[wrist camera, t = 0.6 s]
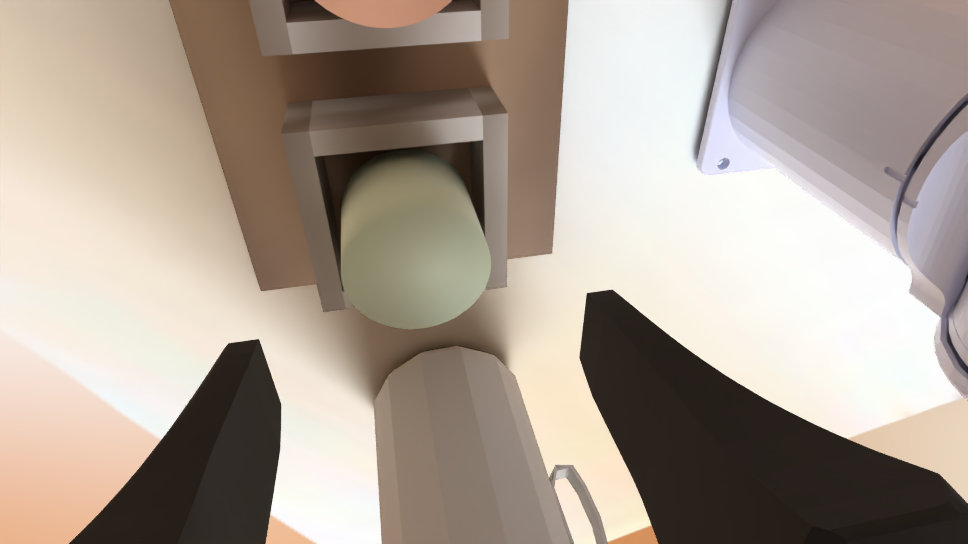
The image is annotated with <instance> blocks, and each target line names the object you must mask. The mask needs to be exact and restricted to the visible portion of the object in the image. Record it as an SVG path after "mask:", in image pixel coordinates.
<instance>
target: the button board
mask: <svg viewBox="0 0 968 544" xmlns="http://www.w3.org/2000/svg"><path fill="white" fill-rule="evenodd" d="M169 1H170V4H171V8H172V11H173V14H174V17H175V20H176V23H177V27H178V30H179V33H180V36H181V39H182V42H183V46H184V49H185V52H186V55H187V58H188V61H189V65H190V68H191V71H192V74H193V77H194V80H195V84H196V87H197V90H198V93H199V96H200V99H201V103H202V106H203V109H204V112H205V115H206V118H207V122H208V125H209V128H210V131H211V134H212V137H213V141H214V144H215V147H216V150H217V153H218V156H219V160H220V163H221V166H222V169H223V172H224V175H225V179H226V182H227V185H228V188H229V191H230V195H231V198H232V201H233V204H234V207H235V210H236V214H237V217H238V220H239V223H240V226H241V229H242V233H243V236H244V239H245V242H246V245H247V248H248V252H249V255H250V258H251V261H252V264H253V267H254V271H255V274H256V277H257V280H258V283H259V286H260V290H261V291H266V290H274V289H282V288H289V287H297V286H305V285H312V284H317V287H318V291H319V295H320V299H321V304H322V308H323V312H328V311H335V310H342V309H349V308H355V307H354V305H353V304H352V303H351V302H350V300H349V299H348V297H347V295H346V293H345V291H344V288H343V285H342V279H341V200H342V195H343V192H344V189H345V186H346V184H347V183H348V181H349V179H350V178H351V176H352V175H353V173H354V172H355V171H356V170H357V169H358V168H359V167H360V166H361V165H363V164H364V163H365V162H367V161H368V160H370V159H372V158H373V157H375V156H378V155H380V154H382V153H386V152H389V151H394V150H403V149H411V150H420V151H425V152H428V153H431V154H434V155H436V156H438V157H440V158H442V159H443V160H445V161H446V162H448V163H449V164H450V165H451V166H452V167H454V168H455V170H456V171H457V172H458V173H459V174H460V176H461V178H462V179H463V181H464V183H465V186H466V188H467V191H468V193H469V196H470V199H471V201H472V204H473V207H474V210H475V212H476V215H477V218H478V220H479V223H480V226H481V228H482V231H483V234H484V237H485V239H486V242H487V245H488V247H489V251H490V255H491V272H490V276H489V280H488V282H487V285H486V287H485V289H484V290H488V289H495V288H503V287H507V259H513V258H520V257H528V256H536V255H544V254H551V253H552V247H553V231H554V216H555V200H556V185H557V170H558V154H559V139H560V123H561V108H562V93H563V77H564V62H565V46H566V31H567V16H568V0H452V1H451V2H450V3H449V4H448V5H447V6H445V7H444V8H443V9H442V10H440V11H439V12H437V13H436V14H434V15H432V16H431V17H429V18H427V19H425V20H422V21H420V22H418V23H415V24H411V25H408V26H403V27H396V28H375V27H368V26H363V25H360V24H356V23H353V22H350V21H348V20H345V19H343V18H341V17H339V16H337V15H335V14H334V13H332V12H330V11H328V10H327V9H325V8H324V7H323V6H321V5H320V4H319V3H317V2H316V1H315V0H169Z"/></svg>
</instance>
